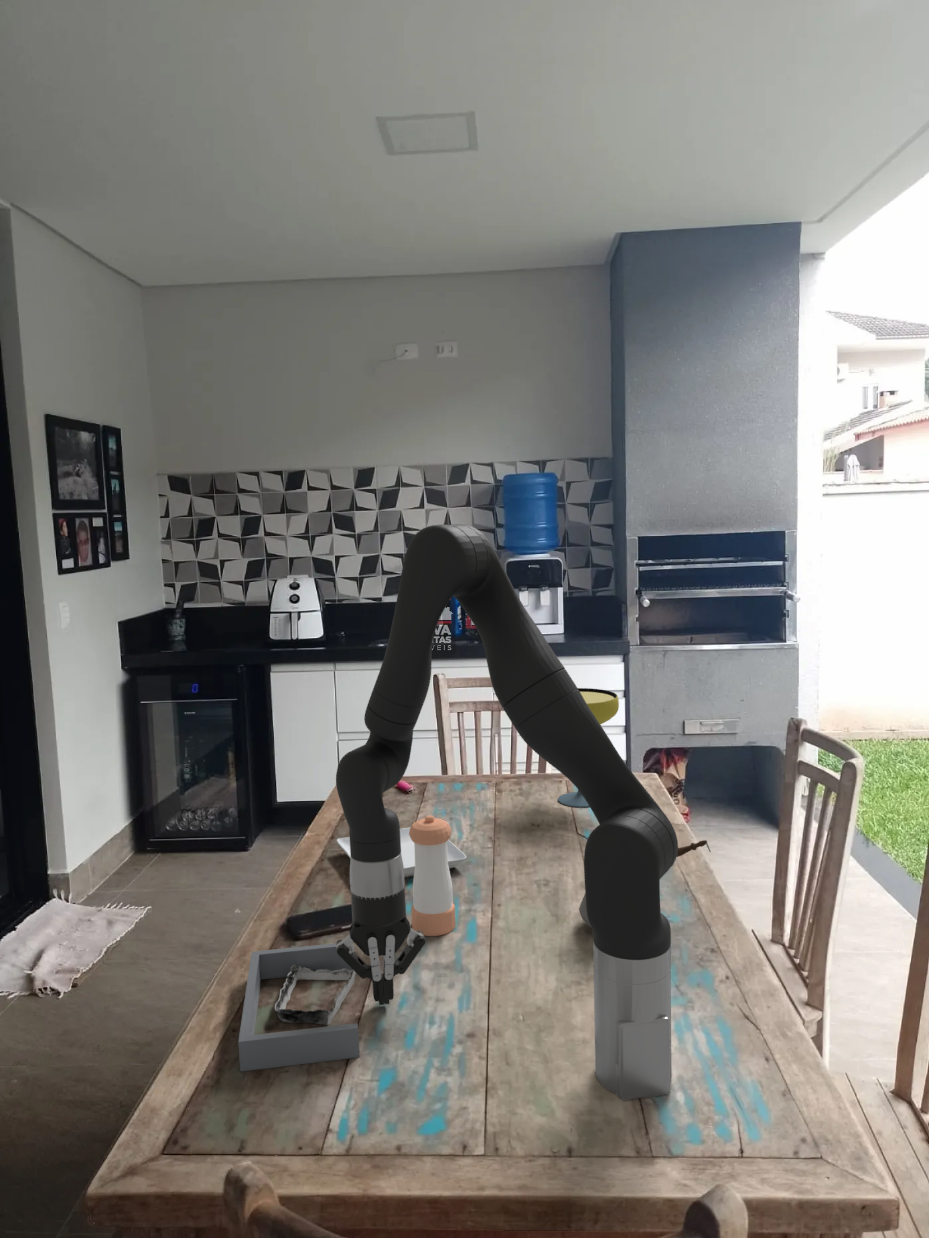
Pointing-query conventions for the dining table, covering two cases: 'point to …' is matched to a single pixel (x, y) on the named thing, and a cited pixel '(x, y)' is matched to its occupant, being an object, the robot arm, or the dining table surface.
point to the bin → (294, 1043)
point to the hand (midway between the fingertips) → (384, 1001)
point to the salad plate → (412, 852)
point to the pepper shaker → (432, 878)
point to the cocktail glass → (603, 709)
